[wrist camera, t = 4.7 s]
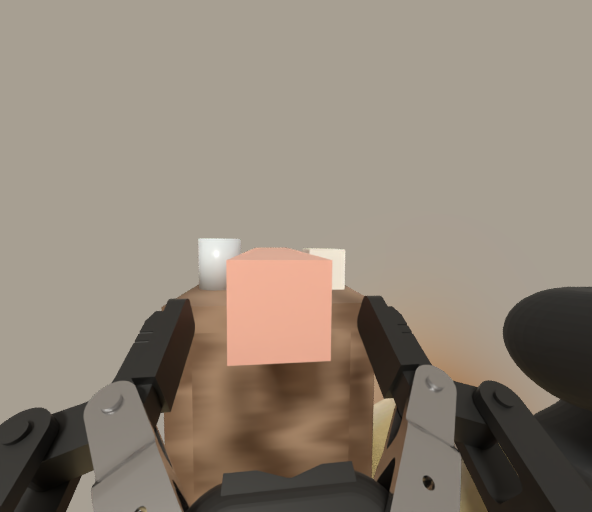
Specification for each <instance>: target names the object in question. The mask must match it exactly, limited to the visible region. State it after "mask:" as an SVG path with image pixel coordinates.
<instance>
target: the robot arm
mask: <svg viewBox="0 0 592 512" xmlns="http://www.w3.org/2000/svg"><path fill="white" fill-rule="evenodd" d="M357 328H358V332H359V334H360V337H361V339H362V342H363V345H364V347H365V350H366V353H367V355H368V358H369V360H370V363H371V366H372V368H373V371H374V374H375V376H376V379H377V381H378V384H379V387H380V389H381V392H382V394H383V397H384V399H385V398H394V401H395V403H396V406H395V408H394V412H393V416H392V420H391V424H390V428H389V431H388V435H387V439H386V443H385V447H384V450H383V454H382V456H381V459H380V461H379V464H378V466H377V469H376V473H375V476H374V479H372V478H371V477H369V476H367V475H365V474H363V473H361V472H358V471H355V470H354V468H353V464H352V461H346V462H335V463H325V464H320V465H318V466H316V467H314V468H312V469H309V470H307V471H305V472H303V473H301V474H299V475H297V476H294V477H292V478H286V477H282V476H278V475H274V474H270V473H266V472H262V471H257V470H253V471H243V472H233V473H223V479H222V483H221V484H219V485H216V486H215V487H213V488H211V489H210V490H208V491H207V492H206V493H204V494H203V495H202V496H200V497H199V498H198V499H197V500H196V501H195V502H194V503H193V504H192V505H191V506H190V505H189V502H188V500H187V497H186V495H185V493H184V490H183V488H182V486H181V483H180V481H179V479H178V477H177V475H176V472H175V470H174V468H173V465H172V463H171V460H170V458H169V455H168V453H167V450H166V448H165V445H164V443H163V440H162V438H161V435H160V433H159V430H158V428H157V426H156V425H157V422H158V419H159V416H160V413H165V412H171V409H172V406H173V403H174V400H175V396H176V393H177V390H178V387H179V383H180V380H181V377H182V373H183V370H184V367H185V364H186V360H187V357H188V354H189V350H190V347H191V344H192V341H193V337H194V333H195V321H194V317H193V312H192V308H191V304H190V300H189V299H169V300H168V302H167V304H166V306H165V308H164V310H163V311H156V312H155V313H154V314H153V315H151V316H150V317H149V318H148V319H147V320H146V321H145V323H144V325H143V327H142V329H141V330H140V334H138V336H137V338H136V340H135V343H134V344H133V345H132V347H131V349H130V351H129V353H128V355H127V356H126V358H125V360H124V362H123V364H122V366H121V368H120V370H119V371H118V373H117V375H116V377H115V379H114V380H113V382H112V383H111V384H109V385H107V386H105V387H103V388H102V389H101V390H99V391H98V392H97V393H96V394H95V395H94V396H93V397H92V398H91V399H90V400H89V401H88V402H86V403H83V404H81V405H77V406H75V407H71V408H69V409H66V410H63V411H60V412H57V413H54V414H50V412H49V411H48V410H46V409H44V408H32V409H28V410H25V411H22V412H20V413H18V414H16V415H14V416H13V417H11V418H9V419H8V420H6V421H5V422H4V423H2V424H1V425H0V512H66V510H67V508H68V506H69V503H70V501H71V499H72V497H73V494H74V492H75V490H76V487H77V485H78V483H79V481H80V478H81V476H82V475H83V474H86V473H88V472H90V471H93V470H94V472H95V484H94V485H93V486H92V489H91V496H92V504H93V509H94V512H460V489H461V457H462V459H463V461H464V463H465V465H466V467H467V469H468V471H469V473H470V475H471V477H472V479H473V481H474V483H475V485H476V487H477V489H478V492H479V494H480V496H481V498H482V500H483V502H484V504H485V506H486V508H487V510H488V512H592V287H562V288H554V289H548V290H544V291H540V292H537V293H535V294H533V295H531V296H529V297H526V298H524V299H523V300H521V301H520V302H519V303H517V304H516V305H515V306H514V307H513V308H512V310H511V311H510V312H509V314H508V316H507V317H506V320H505V323H504V327H503V339H504V343H505V346H506V348H507V350H508V352H509V354H510V356H511V357H512V359H513V360H514V362H515V363H516V365H517V366H518V367H519V368H520V369H521V370H522V371H523V372H524V373H525V374H526V375H527V376H528V377H529V378H530V379H531V380H533V381H534V382H535V383H536V384H537V385H539V386H540V387H541V388H543V389H544V390H546V391H547V392H549V393H550V394H552V395H554V396H556V397H558V398H559V399H560V400H559V401H558V402H556V403H555V404H553V405H551V406H550V407H548V408H546V409H544V410H542V411H540V412H538V413H536V414H535V415H533V414H532V413H531V412H530V410H529V409H528V408H527V407H526V405H525V404H524V403H523V401H522V400H521V399H520V398H519V397H518V396H517V395H516V394H515V393H514V392H513V391H512V390H511V389H509V388H508V387H506V386H504V385H503V384H500V383H498V382H495V381H484V382H482V383H481V384H480V386H479V387H475V386H470V385H467V384H463V383H459V382H455V381H453V380H452V379H451V378H450V377H449V376H448V375H447V374H446V373H445V372H444V371H442V370H441V369H439V368H437V367H435V366H432V364H431V363H430V361H429V360H428V358H427V356H426V355H425V353H424V351H423V350H422V348H421V346H420V345H419V343H418V342H417V340H416V338H415V336H414V335H413V334H412V332H411V330H410V328H409V327H408V326H407V323H406V322H405V320H404V318H403V317H402V315H401V314H400V313H399V312H398V311H397V310H395V309H394V308H393V307H392V306H391V307H388V306H387V305H386V303H385V301H384V300H383V298H382V297H381V296H364V297H363V300H362V304H361V307H360V310H359V314H358V317H357ZM454 442H455V444H456V446H457V448H458V449H456V448H455V447H454ZM498 443H499V444H498ZM500 446H501V447H500ZM501 448H502V449H501ZM503 451H504V452H503ZM504 453H505V454H506V455H505V454H504ZM460 454H461V455H460ZM506 456H507V457H506ZM508 459H509V460H508ZM509 461H510V462H509ZM511 464H512V465H511ZM512 466H513V467H512ZM514 469H515V470H514ZM515 471H516V472H517V473H516V472H515ZM517 474H518V475H517ZM518 476H519V477H518Z"/></svg>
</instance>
